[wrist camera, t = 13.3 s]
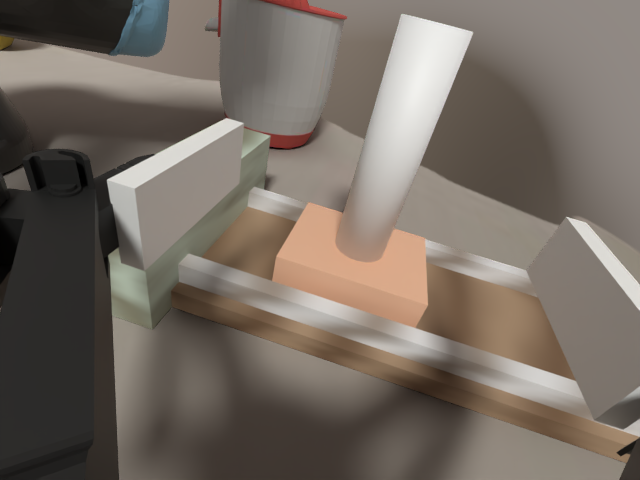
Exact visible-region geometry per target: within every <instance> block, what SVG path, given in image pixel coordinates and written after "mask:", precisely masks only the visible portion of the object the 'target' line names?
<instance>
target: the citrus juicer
mask: <svg viewBox="0 0 640 480" xmlns="http://www.w3.org/2000/svg"><path fill="white" fill-rule="evenodd" d="M344 19H347V17H346V16H344V15H341V14H338V13H334V12H331V11H327V10H324V9H320V8H317V7H313V6H309V4H308V1H307V0H219V15H218V17H215V18H211V19H209V20H208V21H207V23H206V27H205V31H215V32H218V37H220V63H219V68H220V88H221V95H222V101H223V105H224V109H225V116H226V118H228V119H231V120H235V121H238V122H242V123H244V128H246V129H249V130H253V131H256V132H260V133H263V134H266V135H270V136H271V137H270V145H269V147H277V148H284V149H292V148H293V147H298V146H301V145H303V144H305V143H306V142H307V140H308V139H309V137H310V136H311V134H312V133H313V131H314V129H315V126H316V124H317V122H318V120H319V118H320V116H321V114H322V111H323V109H324V106H325V104H326V100H327V97H328V93H329V89H330V85H331V80H332V76H333V71H334V66H335V61H336V57H337V52H338V47H339V43H340V38H341V33H342V28H343V23H344Z"/></svg>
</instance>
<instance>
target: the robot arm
mask: <svg viewBox="0 0 640 480" xmlns="http://www.w3.org/2000/svg"><path fill="white" fill-rule="evenodd" d="M168 10H169V0H0V36H5V37H11V38H16V39H22V40H28V41H34V42H40V43H46V44H52V45H58V46H63V47H69V48H75V49H81V50H86V51H92V52H98V53H104V54H108V55H111V56H116V55H118V54H120V55H131V56H141V57H150V56H153V55H156V54H157V53H159V52H160V51H161V49H162V48H163V45H164V42H165V37H166V31H167V22H168ZM243 130H244V123H242V122H238V121H235V120H231V119H228V118H226V119H224V120H222V121H220V122H218V123H216V124H214V125H212V126H210V127H208V128H206V129H204V130H203V131H201V132H199V133H197V134H195V135H193V136H191V137H189V138H187V139H185V140H183V141H181V142H179V143H177V144H175V145H173V146H171V147H170V148H168V149H166V150H164V151H162V152H160V153H158V154H156V155H155V154H151V155H146V156H141V157H137V158H135V159H133V160H131V161H129V162H127V163H126V164H123V165H121V166H119V167H117V169H113V170H111V171H109V172H107V173H105V174H102V175H100V176H98V177H96V178H94V179H93V175H92V170H91V165H90V160H89V158H88V156H87V155H85V154H83V153H81V152H78V151H74V150H68V149H46V150H41V151H36V152H33V145H32V141H31V138H30V134H29V131H28V128H27V126H26V124H25V122H24V120H23V119H22V117H21V116H20V114H19V113H18V112H17V110H16V109H15V107H14V106H13V105H12V103H11V102H10V100H9V99H8V98H7V96H6V95H5V93H4V92H3V91H2V89H1V88H0V308H1V306H2V308H1V312H0V480H119V470H118V446H117V422H116V398H115V374H114V350H113V326H112V302H111V278H110V262H109V257H108V255H109V254H111V253H112V252H113V251H114V250H116V249H117V248H118V249H119V255H120V260H121V263H122V264H125V265H128V266H131V267H134V268H137V269H140V270H143V271H145V270H146V269H147V268H148V267H150V266H151V265H152V264H153V263H154V262H155V261H156V260H157V259H158V258H159V257H160V256H161V255H162V254H164V253H165V252H166V251H167V250H168V249H169V248H170V247H171V246H172V245H173V244H174V243H175V242H177V241H178V240H179V239H180V238H181V237H182V236H183V235H184V234H185V233H186V232H187V231H188V230H189V229H191V228H192V227H193V226H194V225H195V224H196V223H197V222H198V221H199V220H200V219H201V218H202V217H203V216H205V215H206V214H207V213H208V212H209V211H210V210H211V209H212V208H213V207H214V206H215V205H216V204H217V203H219V202H220V201H221V200H222V199H223V198H224V197H225V196H226V195H227V194H228V193H229V192H230V191H232V190H233V189H234V188H235V187H236V186H237V185H238V184H239V181H240V168H241V156H242V143H243ZM32 152H33V153H32ZM21 164H23V166H24V169H25V172H26V175H27V178H28V181H29V185H30V188H31V191H27V190H18V189H9V188H7V186H6V183H5V181H4V178H3V176H2V174H3V173H6V172H8V171H10V170H12V169H14V168H16V167H18V166H20V165H21ZM526 271H527V273H528V276H529V278H530V280H531V282H532V285H533V287H534V289H535V291H536V293H537V296H538V298H539V300H540V302H541V304H542V307H543V309H544V311H545V313H546V315H547V318H548V320H549V322H550V324H551V326H552V329H553V331H554V333H555V335H556V338H557V340H558V342H559V344H560V346H561V349H562V351H563V353H564V355H565V357H566V360H567V362H568V364H569V366H570V368H571V371H572V373H573V375H574V377H575V379H576V382H577V384H578V386H579V388H580V391H581V393H582V395H583V397H584V399H585V402H586V404H587V406H588V408H589V410H590V413H591V415H592V417H593V419H594V420H595V421H598V422H601V423H604V424H607V425H610V426H613V427H616V428H619V429H622V430H624V429H625V428H627V427H628V426H630V425H631V424H633V423H634V422H636V421H637V420H639V419H640V285H639V283H638V282H637V281H636V280H635V279H634V278H633V276H632V275H631V274H630V273H629V272H628V271H627V269H626V268H625V267H624V266H623V265H622V264H621V262H620V261H619V260H618V259H617V258H616V257H615V255H614V254H613V253H612V252H611V251H610V250H609V249H608V247H607V246H606V245H605V244H604V243H603V242H602V240H601V239H600V238H599V237H598V236H597V235H596V233H595V232H594V231H593V230H592V229H591V228H590V226H589V225H588V224H587V223H585V222H582V221H578V220H575V219H571V218H568V217H566V218H565V219H564V221H563V222H562V223H561V225H560V226H559V227H558V229H557V230H556V231H555V233H554V234H553V235H552V237H551V238H550V239H549V241H548V242H547V244H546V245H545V246H544V248H543V249H542V250H541V252H540V253H539V254H538V256H537V257H536V258H535V260H534V261H533V262H532V264H531V265H530V266H529V268H528V269H527V270H526ZM616 453H617V454H618V455H620V456H623V455H624V454H630V457H629V459H628V461H627V464H626V466H625V468H624V470H623V473H622V475H621V477H620V479H619V480H640V437H639V438H638V439H636V440H635V441H633V442H631V443H630V444H628V445H627V446H625V447H623V448H622V449H620V450H619V451H618V452H616Z"/></svg>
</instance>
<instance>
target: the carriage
mask: <svg viewBox="0 0 640 480" xmlns="http://www.w3.org/2000/svg"><path fill="white" fill-rule="evenodd" d="M472 34H473V32H471V31H467V30H463V29H460V28H456V27H452V26H448V25H444V24H441V23H437V22H433V21H429V20H425V19H421V18H417V17H413V16H409V15H405V14H401V17H400V21H399V24H398V28H397V31H396V35H395V38H394V41H393V45H392V48H391V52H390V55H389V58H388V62H387V65H386V69H385V72H384V76H383V79H382V82H381V86H380V89H379V93H378V96H377V100H376V103H375V107H374V110H373V113H372V117H371V120H370V124H369V127H368V130H367V134H366V137H365V141H364V144H363V147H362V151H361V154H360V158H359V161H358V165H357V168H356V171H355V175H354V178H353V182H352V185H351V189H350V192H349V195H348V199H347V202H346V206H345V209H344V212H343V213H342V212H339V211H336V210H332V209H329V208H326V207H323V206H319V205H316V204H313V203H310V202H308V204H307V206H306V207H305V209H304V211H303V212H302V214H301V216H300V217H299V219H298V221H297V222H296V224H295V226H294V227H293V229H292V231H291V232H290V234H289V236H288V238H287V239H286V241H285V243H284V244H283V246H282V248H281V249H280V251H279V253H278V254H277V256H276V261H275V267H274V272H273V278H272V281H274V282H277V283H280V284H283V285H286V286H289V287H292V288H295V289H298V290H301V291H304V292H307V293H310V294H313V295H316V296H319V297H322V298H325V299H328V300H331V301H334V302H337V303H340V304H343V305H347V306H350V307H353V308H356V309H359V310H362V311H365V312H368V313H371V314H374V315H377V316H380V317H383V318H386V319H389V320H392V321H395V322H398V323H401V324H404V325H407V326H410V327H413V328H416V326H417V324H418V322H419V321H420V319H421V317H422V315H423V313H424V312H425V310H426V308H427V306H428V294H427V270H426V247H425V238H423V237H420V236H417V235H413V234H410V233H407V232H404V231H400V230H397V229H394V227H395V224H396V222H397V219H398V217H399V214H400V212H401V209H402V207H403V205H404V202H405V200H406V197H407V195H408V192H409V190H410V187H411V185H412V182H413V180H414V177H415V175H416V172H417V170H418V168H419V165H420V163H421V160H422V157H423V155H424V152H425V150H426V148H427V145H428V143H429V140H430V138H431V135H432V133H433V131H434V128H435V125H436V123H437V121H438V118H439V116H440V113H441V111H442V108H443V106H444V103H445V101H446V98H447V96H448V94H449V91H450V89H451V86H452V84H453V81H454V79H455V76H456V74H457V71H458V69H459V66H460V64H461V61H462V59H463V57H464V54H465V51H466V49H467V47H468V44H469V42H470V39H471V37H472Z"/></svg>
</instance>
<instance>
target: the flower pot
mask: <svg viewBox="0 0 640 480" xmlns="http://www.w3.org/2000/svg"><path fill="white" fill-rule="evenodd" d="M13 40H14V38H11V37H5V36H0V50H1V49H4V48H6V47H8V46H10V45H11V44H12V42H13Z"/></svg>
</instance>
